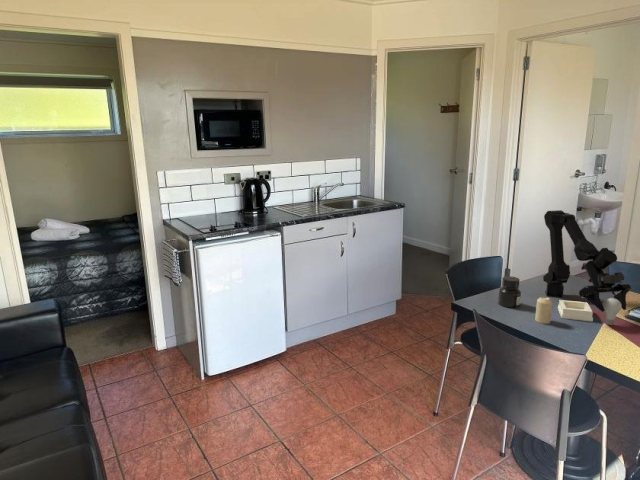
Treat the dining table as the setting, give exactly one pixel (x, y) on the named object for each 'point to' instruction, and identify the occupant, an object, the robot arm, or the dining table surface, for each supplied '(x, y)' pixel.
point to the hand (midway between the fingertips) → (614, 310)
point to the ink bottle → (509, 292)
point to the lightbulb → (611, 309)
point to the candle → (543, 310)
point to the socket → (575, 310)
